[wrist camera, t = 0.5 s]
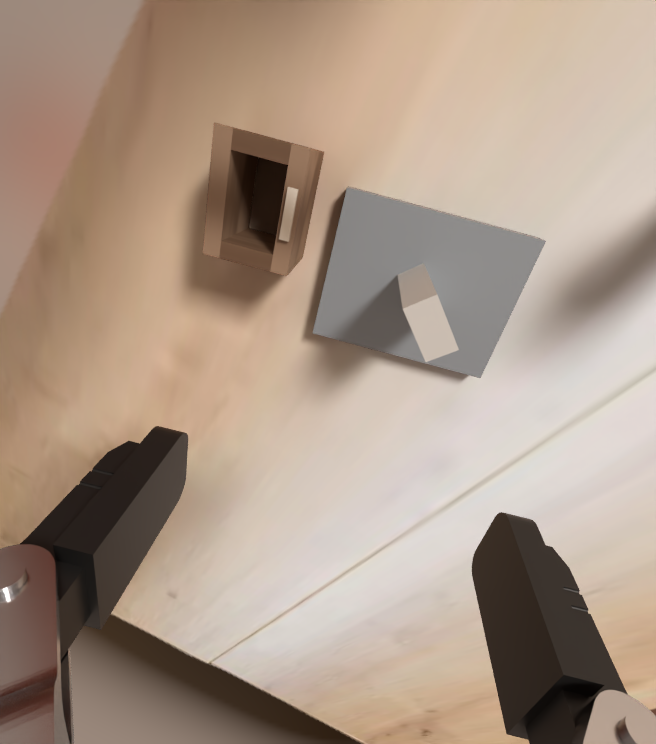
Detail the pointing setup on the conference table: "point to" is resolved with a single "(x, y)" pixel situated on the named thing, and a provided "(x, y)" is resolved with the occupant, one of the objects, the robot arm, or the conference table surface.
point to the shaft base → (453, 268)
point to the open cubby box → (235, 194)
